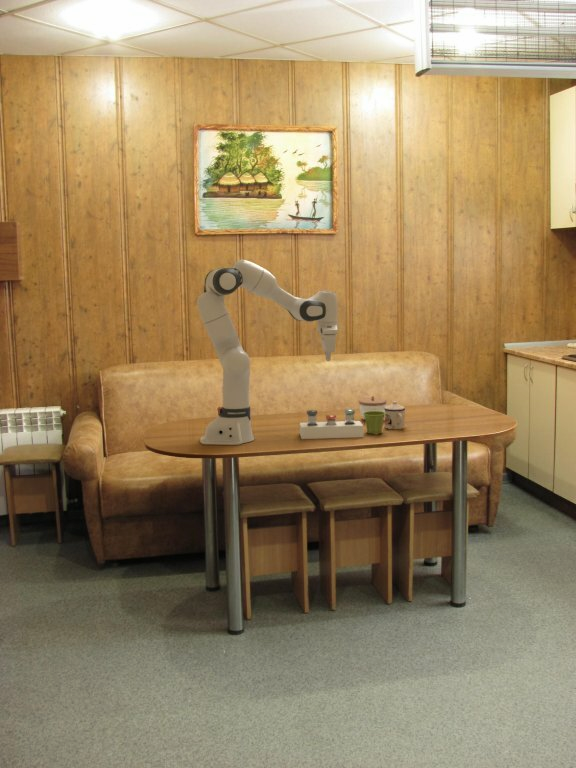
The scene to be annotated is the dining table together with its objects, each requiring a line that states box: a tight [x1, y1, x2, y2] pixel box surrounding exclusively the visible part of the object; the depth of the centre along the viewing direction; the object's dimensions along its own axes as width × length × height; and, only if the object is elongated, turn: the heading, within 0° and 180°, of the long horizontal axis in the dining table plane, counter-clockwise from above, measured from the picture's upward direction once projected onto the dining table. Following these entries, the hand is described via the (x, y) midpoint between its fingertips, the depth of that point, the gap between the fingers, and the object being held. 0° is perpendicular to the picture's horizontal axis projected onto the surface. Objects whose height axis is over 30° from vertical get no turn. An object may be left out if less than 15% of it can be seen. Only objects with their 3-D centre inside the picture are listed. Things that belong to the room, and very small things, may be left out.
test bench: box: [299, 420, 364, 440], centre depth 342 cm, size 26×10×5 cm, turn 93°
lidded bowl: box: [358, 395, 387, 420], centre depth 374 cm, size 13×13×11 cm
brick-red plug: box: [325, 414, 337, 425], centre depth 342 cm, size 4×4×6 cm
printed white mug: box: [384, 401, 406, 430], centre depth 354 cm, size 12×9×12 cm
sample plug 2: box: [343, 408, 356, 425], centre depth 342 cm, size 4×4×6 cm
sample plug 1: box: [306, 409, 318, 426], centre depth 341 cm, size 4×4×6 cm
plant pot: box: [363, 411, 385, 435], centre depth 346 cm, size 9×9×9 cm
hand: (328, 360), depth 347 cm, fingers closed
